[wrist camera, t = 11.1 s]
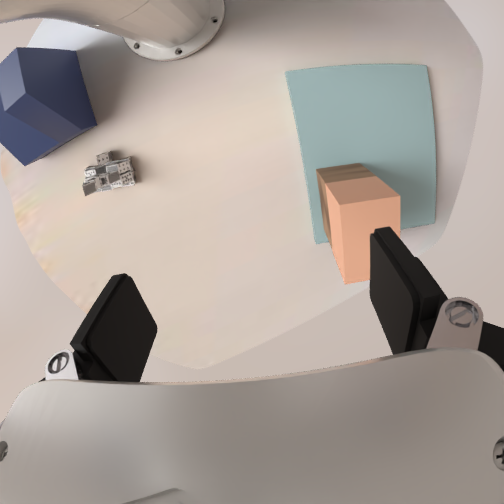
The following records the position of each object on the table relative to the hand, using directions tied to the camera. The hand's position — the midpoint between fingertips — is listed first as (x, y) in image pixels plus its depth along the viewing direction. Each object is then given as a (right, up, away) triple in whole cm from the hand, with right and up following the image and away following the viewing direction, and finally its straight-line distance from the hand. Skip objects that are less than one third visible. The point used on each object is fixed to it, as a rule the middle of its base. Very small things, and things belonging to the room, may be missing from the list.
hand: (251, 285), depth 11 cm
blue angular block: (-28, +22, +19) cm, 40 cm away
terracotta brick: (+11, +5, +19) cm, 22 cm away
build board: (+15, +14, +22) cm, 30 cm away
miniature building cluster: (-18, +14, +24) cm, 33 cm away
